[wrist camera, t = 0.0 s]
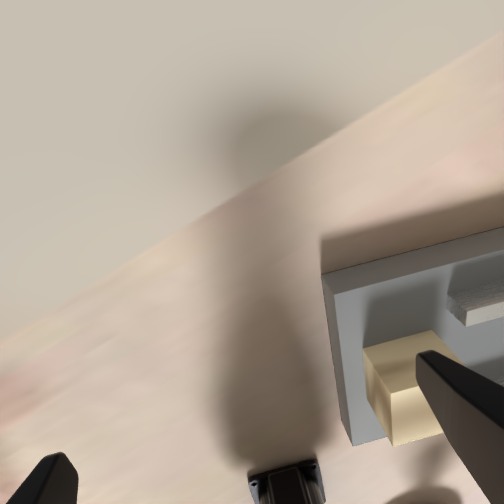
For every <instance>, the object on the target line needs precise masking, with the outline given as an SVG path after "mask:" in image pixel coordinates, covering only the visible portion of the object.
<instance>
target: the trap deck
mask: <svg viewBox="0 0 504 504" xmlns="http://www.w3.org/2000/svg"><path fill="white" fill-rule="evenodd" d="M321 278H322V285H323V292H324V299H325V306H326V314H327V321H328V328H329V335H330V342H331V349H332V356H333V364H334V371H335V378H336V385H337V392H338V399H339V406H340V413H341V421H342V423H343V425H344V427H345V430H346V432H347V434H348V437H349V439H350V441H351V443H352V446H357V445H360V444H364V443H367V442H371V441H374V440H378V439H381V438H385V437H387V435H386V433H385V431H384V430H383V428H382V426H381V424H380V422H379V420H378V418H377V417H376V415H375V413H374V411H373V409H372V407H371V406H370V404H369V402H368V400H367V395H366V383H365V372H364V361H363V350H362V349H363V348H367V347H370V346H374V345H378V344H381V343H385V342H389V341H392V340H396V339H400V338H403V337H407V336H410V335H414V334H418V333H421V332H425V331H429V330H433V332H434V333H435V334H436V335H437V336H438V337H439V338H440V339H441V340H442V341H443V342H444V343H445V344H446V346H447V347H448V348H449V349H450V350H451V351H452V352H453V353H454V354H455V355H456V356H457V357H458V358H459V359H460V361H461V362H462V363H463V364H464V365H465V366H466V367H467V368H469V369H471V370H473V371H475V372H477V373H479V374H481V375H483V376H485V377H487V378H492V377H495V376H499V375H502V374H504V317H500V318H496V319H493V320H489V321H485V322H482V323H478V324H474V325H471V326H467V327H465V326H464V325H463V324H462V323H461V322H460V321H459V320H458V319H457V318H456V317H455V316H454V315H453V314H451V313H450V312H449V311H448V310H447V309H446V303H447V294H449V293H453V292H456V291H460V290H464V289H467V288H471V287H475V286H479V285H482V284H486V283H490V282H493V281H497V280H501V279H504V227H501V228H497V229H494V230H490V231H486V232H482V233H478V234H475V235H471V236H467V237H463V238H459V239H456V240H452V241H448V242H444V243H440V244H437V245H433V246H429V247H425V248H421V249H418V250H414V251H410V252H406V253H402V254H399V255H395V256H391V257H387V258H383V259H380V260H376V261H372V262H368V263H364V264H361V265H357V266H353V267H349V268H345V269H342V270H338V271H334V272H330V273H326V274H323V275H321Z"/></svg>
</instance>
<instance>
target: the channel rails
mask: <svg viewBox="0 0 504 504" xmlns="http://www.w3.org/2000/svg"><path fill="white" fill-rule="evenodd" d="M446 309H447V310H448V311H449V312H450V313H451V314H453V315H454V316H455V317H456V318H457V319H458V320H459V321H460V322H461V323H462V324H463V325H464V326H465V327H467V326H471V325H474V324H478V323H482V322H485V321H489V320H493V319H496V318H500V317H504V279H501V280H497V281H493V282H490V283H486V284H482V285H479V286H475V287H471V288H467V289H464V290H460V291H456V292H453V293H449V294H447V303H446ZM488 379H490V380H492V381H494V382H496V383H498V384H500V385H502V386H504V374H502V375H499V376H495V377H492V378H488Z"/></svg>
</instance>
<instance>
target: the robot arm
mask: <svg viewBox="0 0 504 504" xmlns="http://www.w3.org/2000/svg"><path fill="white" fill-rule="evenodd" d="M415 363H416V381H417V383H418V386H419V388H420V389H421V391H422V393H423V395H424V397H425V399H426V400H427V402H428V404H429V406H430V408H431V410H432V412H433V413H434V415H435V417H436V419H437V421H438V423H439V424H440V426H441V428H442V430H443V432H444V434H445V435H446V437H447V439H448V441H449V442H450V444H451V445H452V447H453V449H454V450H455V452H456V453H457V455H458V456H459V458H460V459H461V460H462V462H463V463H464V465H465V466H466V468H467V469H468V471H469V472H470V474H471V475H472V477H473V478H474V480H475V481H476V482H477V484H478V485H479V487H480V488H481V490H482V491H483V493H484V494H485V496H486V497H487V499H488V500H489V502H490V503H491V504H504V386H502V385H500V384H498V383H496V382H494V381H492V380H490V379H488V378H487V377H485V376H483V375H481V374H479V373H477V372H475V371H473V370H471V369H469V368H467V367H465V366H464V365H462V364H460V363H458V362H456V361H454V360H452V359H450V358H448V357H446V356H444V355H442V354H441V353H439V352H437V351H435V350H427V351H423V352H420V353H417V355H416V358H415ZM248 485H249V488H250V491H251V494H252V497H253V499H254V502H255V504H324V503H325V502H326V499H325V494H324V489H323V484H322V479H321V474H320V469H319V464H318V461H317V460H314V459H313V460H309V461H305V462H302V463H298V464H295V465H291V466H288V467H284V468H281V469H277V470H274V471H270V472H267V473H263V474H260V475H256V476H253V477H250V478H249V479H248ZM77 493H78V473H77V471H76V469H75V468H74V466H73V465H72V463H71V462H70V461H69V459H68V458H67V456H66V455H65V454H64V453H62V452H58V453H54V454H51V455H47V456H45V457H44V458H43V459H42V460H41V461H40V462H39V463H38V464H37V466H36V467H35V468H34V469H33V471H32V472H31V473H30V474H29V476H28V477H27V478H26V479H25V481H24V482H23V483H22V484H21V485H20V487H19V488H18V489H17V490H16V492H15V493H14V494H13V495H12V497H11V498H10V499H9V500H8V502H7V503H6V504H77Z"/></svg>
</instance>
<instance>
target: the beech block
mask: <svg viewBox="0 0 504 504" xmlns="http://www.w3.org/2000/svg"><path fill="white" fill-rule="evenodd" d="M362 350H363V361H364V372H365V383H366V395H367V400H368V402H369V404H370V406H371V407H372V409H373V411H374V413H375V415H376V417H377V418H378V420H379V422H380V424H381V426H382V428H383V430H384V431H385V433H386V435H387V437H388V439H389V441H390V442H391V444H392V446H393V447H395V446H399V445H402V444H406V443H409V442H412V441H416V440H419V439H423V438H426V437H430V436H433V435H437V434H440V433H444V432H443V430H442V428H441V426H440V424H439V423H438V421H437V419H436V417H435V415H434V413H433V412H432V410H431V408H430V406H429V404H428V402H427V400H426V399H425V397H424V395H423V393H422V391H421V389H420V388H419V386H418V383H417V381H416V363H415V358H416V355H417V353H420V352H423V351H427V350H435V351H437V352H439V353H441V354H442V355H444V356H446V357H448V358H450V359H452V360H454V361H456V362H458V363H460V364H462V365H464V364H463V363H462V362H461V361H460V359H459V358H458V357H457V356H456V355H455V354H454V353H453V352H452V351H451V350H450V349H449V348H448V347H447V346H446V344H445V343H444V342H443V341H442V340H441V339H440V338H439V337H438V336H437V335H436V334H435V333H434V332H433V330H429V331H425V332H421V333H418V334H414V335H410V336H407V337H403V338H400V339H396V340H392V341H389V342H385V343H381V344H378V345H374V346H370V347H367V348H363V349H362ZM464 366H465V365H464ZM465 367H466V366H465Z"/></svg>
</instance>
